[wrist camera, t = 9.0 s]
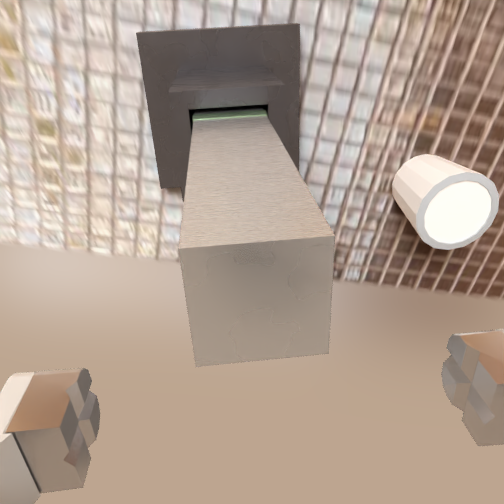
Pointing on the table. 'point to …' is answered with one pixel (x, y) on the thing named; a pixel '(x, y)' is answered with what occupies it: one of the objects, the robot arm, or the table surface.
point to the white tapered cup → (445, 201)
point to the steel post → (252, 244)
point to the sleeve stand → (217, 84)
